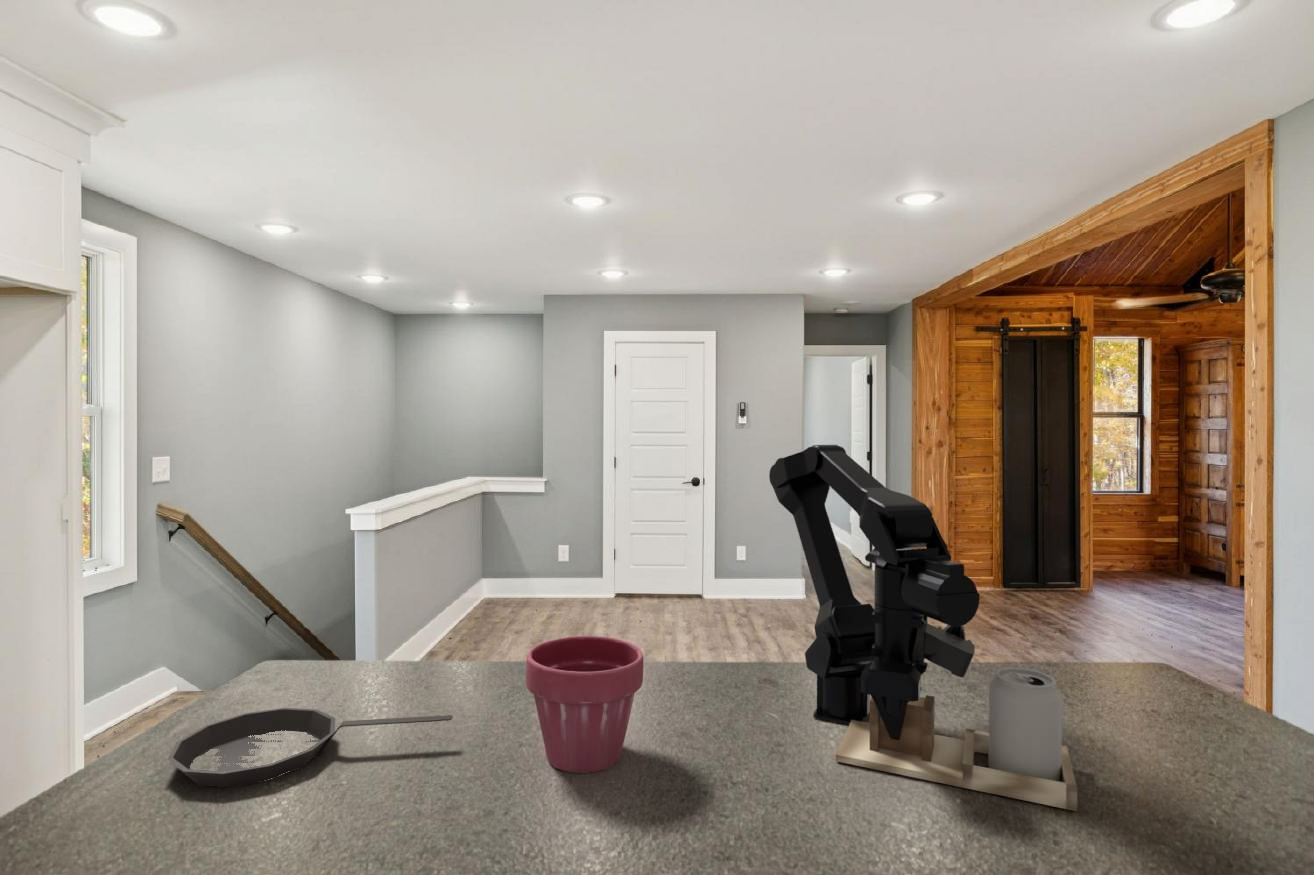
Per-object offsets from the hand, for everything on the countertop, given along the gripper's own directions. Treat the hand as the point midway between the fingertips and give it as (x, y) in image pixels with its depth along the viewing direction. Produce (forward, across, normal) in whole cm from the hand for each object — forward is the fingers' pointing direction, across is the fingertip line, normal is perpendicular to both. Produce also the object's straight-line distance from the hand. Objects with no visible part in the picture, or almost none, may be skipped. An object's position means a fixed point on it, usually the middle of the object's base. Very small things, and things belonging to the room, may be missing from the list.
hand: (897, 730), depth 86 cm
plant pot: (+3, -17, +35) cm, 39 cm away
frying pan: (+3, -31, +64) cm, 71 cm away
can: (+3, 0, -14) cm, 14 cm away
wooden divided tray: (+3, 0, -6) cm, 6 cm away
